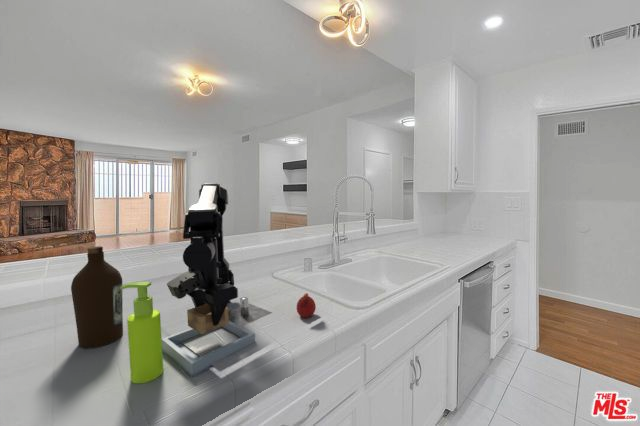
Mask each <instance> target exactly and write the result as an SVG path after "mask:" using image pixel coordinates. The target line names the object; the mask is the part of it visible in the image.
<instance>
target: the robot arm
mask: <svg viewBox="0 0 640 426" xmlns="http://www.w3.org/2000/svg"><path fill="white" fill-rule="evenodd" d="M227 205H229V194H228V190H227V189H226V188H224V187H221V184H220V183H217V182H204V183H201V187H200V189H199V190H198V201H197V203H196V204H192V205H191V206H190V207H189V208H188V210H187V211H188V212H186V213H185V217H184V223H183V224H184V225H183V235H182V238H183V240H185V239H186V240H189V239H190V243H189V244H188V246H187V247H185V249H184V250H183V254H182V261H183V263H184V264H185V266H186V267H187V268H188V269H187V270H188V271H185V272H184V273H181V274H180V275H178V276H176V277H175V278H173V279H172V280H171V279H170V280H169V281H168V282H167V283H166V286H167V287H168V290H169V292H170V293H171V296H172V297H175V298H177V299H179V300H180V299H183V298H184V297H186V296H189V297H190V298H191V301H192V303H193V305H194V308H195V307H198V306H201V305H204V304H207V305H209V306H210V310H211V316H212V321H213V325H214V326H216V325H218V324H219V322H220V319H221V317H222V315H223V313H224V310H225V308H226V307H227V306H228V305H229V303H230V301H232V300H235V299H237V298H238V297H239V288H238V287H236V286H235V277H234V276H235V275H234V272H233V271H232V269H230V263H229V262H228V261H227V259H226V258H225V252H224V251H225V249H224V247H225V246H224V230H223V229H224V227H223V225H224V224H223V223H224V218H223V216H224V214H225V212H226V210H227Z"/></svg>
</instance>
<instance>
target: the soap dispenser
mask: <svg viewBox="0 0 640 426" xmlns="http://www.w3.org/2000/svg"><path fill="white" fill-rule="evenodd" d="M150 286H152V281H135V282H129V283H126V284H124V285H123V284H122V287H120V288H121V289H122V290H124V289H130V288H131V289H132V288H133V289H134V288H137V297H136V298H134V299H133V301H132V302H133V313H132V314H130V315H129V316H127V317H126V322H127V338H128V350H129V352H128V353H129V365H130V367H129V368H130V381H131V382H132V383H133V384H145V383H148V382H151V381H154V380H155V379H157V378H159V377H160V376H161V375H162V373H164V361H163V360H164V359H163V351H162V339H163V338H162V326H161V325H162V324H161V322H162V321H161V311H160V310H159V309H154V303H153V302H154V301H153V296H151V295H148V288H149V287H150Z"/></svg>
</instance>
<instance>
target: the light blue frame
mask: <svg viewBox="0 0 640 426" xmlns="http://www.w3.org/2000/svg"><path fill="white" fill-rule="evenodd" d="M222 328H224V329H225V330H227V331H229V332H231V333H232V334H235V335H236V336H238V337H240V338H237V339H235V340H234V341H231V342H229V343H227V344H225V345H223V346H221V347H218V348H217V349H215V350H212V351H210V352H208V353H205V354H203V355H202V356H200V355H199V354H198V353H196V352H195V351H194V350H192V349H191V348H190V347H188V346H187V345H185V344H184V343H183V342H184V341H186V340H187V339H191V338H193V337H196V336H198V335H201V334H200V333H199V332H197V331H195V330H194V329H192V328H191V327H189V328H187V329H185V330H182V331H179V332H176V333H174V334H171V335H168V336H167V337H164V338H162V353H164V354H165V355H166V356H168V357H169V358H170V359H171V360H172V361H173V362H174V363H176V364H177V365H178V366H179V367H180V368H181V369H183V370H184V371H185V372H186V374H188V375H189V376H190V377H191V378H194V377H196V376H198V375H200V374H202V373H204V372H206V371H208V370H209V369H211V368H214V367H215V366H214V365H213V364H214V363H216V362H217V361H219V360H221V359H223V358H225V357H227V356H230V355H231V354H233V353H235V352H237V351H240V350H241V349H243V348H245V347H247V346H250V345H251V344H253V343H255V342H256V334H255V333H254V332H252V331H251V330H248V329H247V328H244V327H243V326H239V325H237V324H235V323H233V322H231V321H229V324H226V325H224V326H222Z"/></svg>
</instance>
